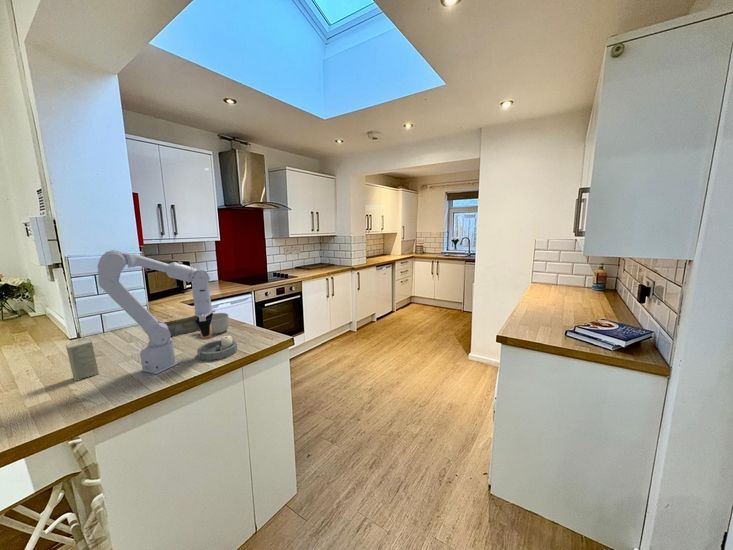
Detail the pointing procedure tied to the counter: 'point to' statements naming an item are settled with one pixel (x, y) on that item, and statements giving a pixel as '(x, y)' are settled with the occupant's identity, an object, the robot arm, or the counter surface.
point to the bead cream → (226, 342)
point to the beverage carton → (182, 326)
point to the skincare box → (82, 359)
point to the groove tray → (215, 350)
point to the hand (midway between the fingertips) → (206, 334)
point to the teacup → (219, 322)
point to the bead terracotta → (207, 336)
